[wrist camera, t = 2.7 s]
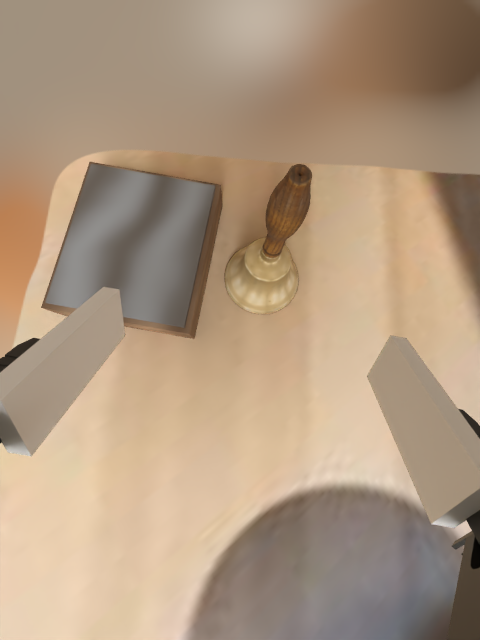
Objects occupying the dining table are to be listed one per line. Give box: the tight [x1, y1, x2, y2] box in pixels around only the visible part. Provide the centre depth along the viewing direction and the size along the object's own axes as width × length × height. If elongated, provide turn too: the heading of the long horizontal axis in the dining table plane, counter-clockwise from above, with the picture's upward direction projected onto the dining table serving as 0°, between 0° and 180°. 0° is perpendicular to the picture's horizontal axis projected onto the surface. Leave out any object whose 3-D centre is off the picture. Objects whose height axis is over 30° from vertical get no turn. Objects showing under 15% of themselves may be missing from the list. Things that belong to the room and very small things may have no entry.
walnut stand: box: [41, 162, 222, 339], centre depth 28 cm, size 14×16×4 cm
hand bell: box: [225, 164, 312, 314], centre depth 22 cm, size 8×8×16 cm
